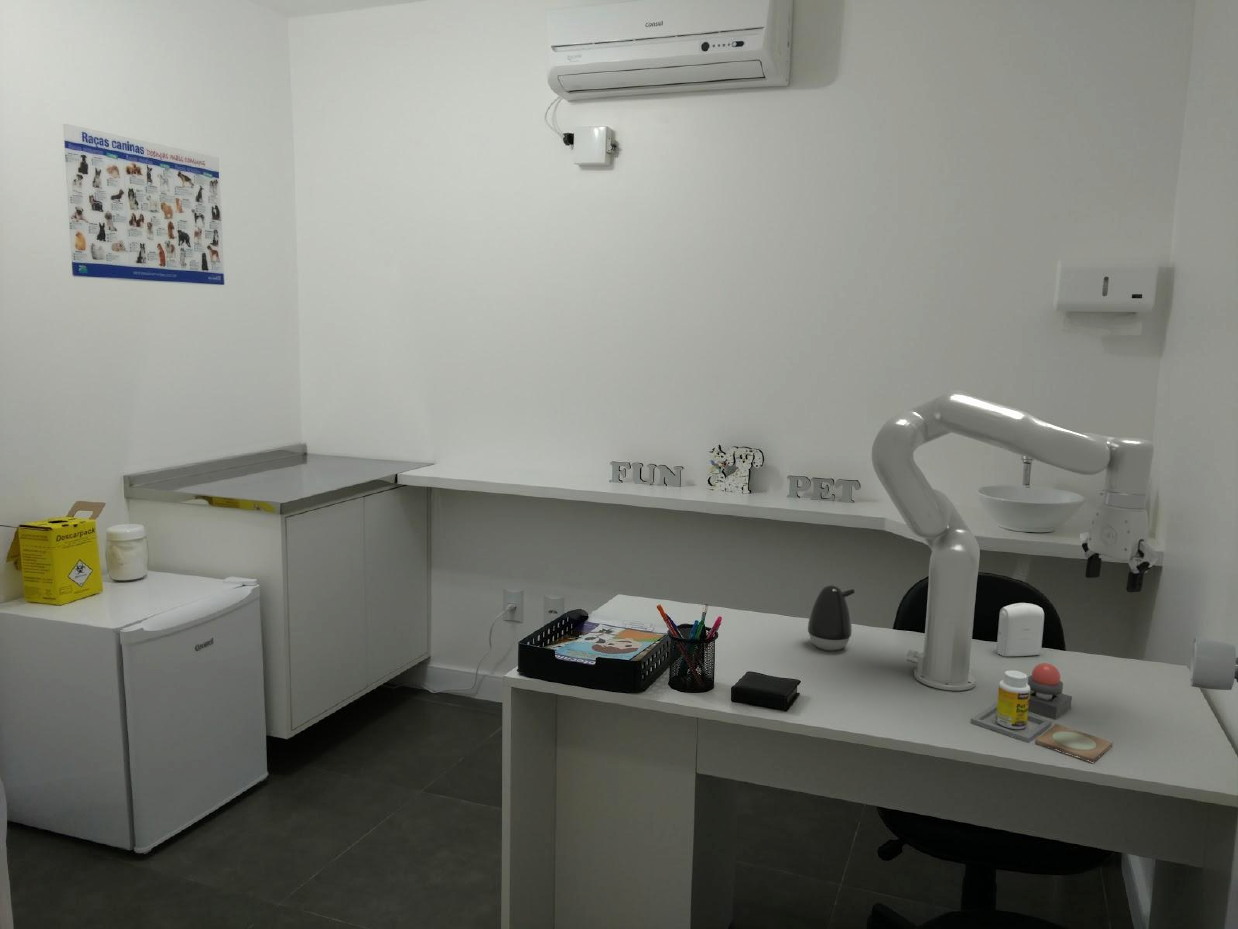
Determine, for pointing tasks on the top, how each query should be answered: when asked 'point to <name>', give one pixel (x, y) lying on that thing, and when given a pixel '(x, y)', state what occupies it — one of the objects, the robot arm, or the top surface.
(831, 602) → the pump dispenser
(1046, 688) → the dome cap
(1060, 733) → the pad
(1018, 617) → the photo printer
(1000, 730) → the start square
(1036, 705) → the dome housing
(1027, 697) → the supplement bottle
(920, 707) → the top surface
